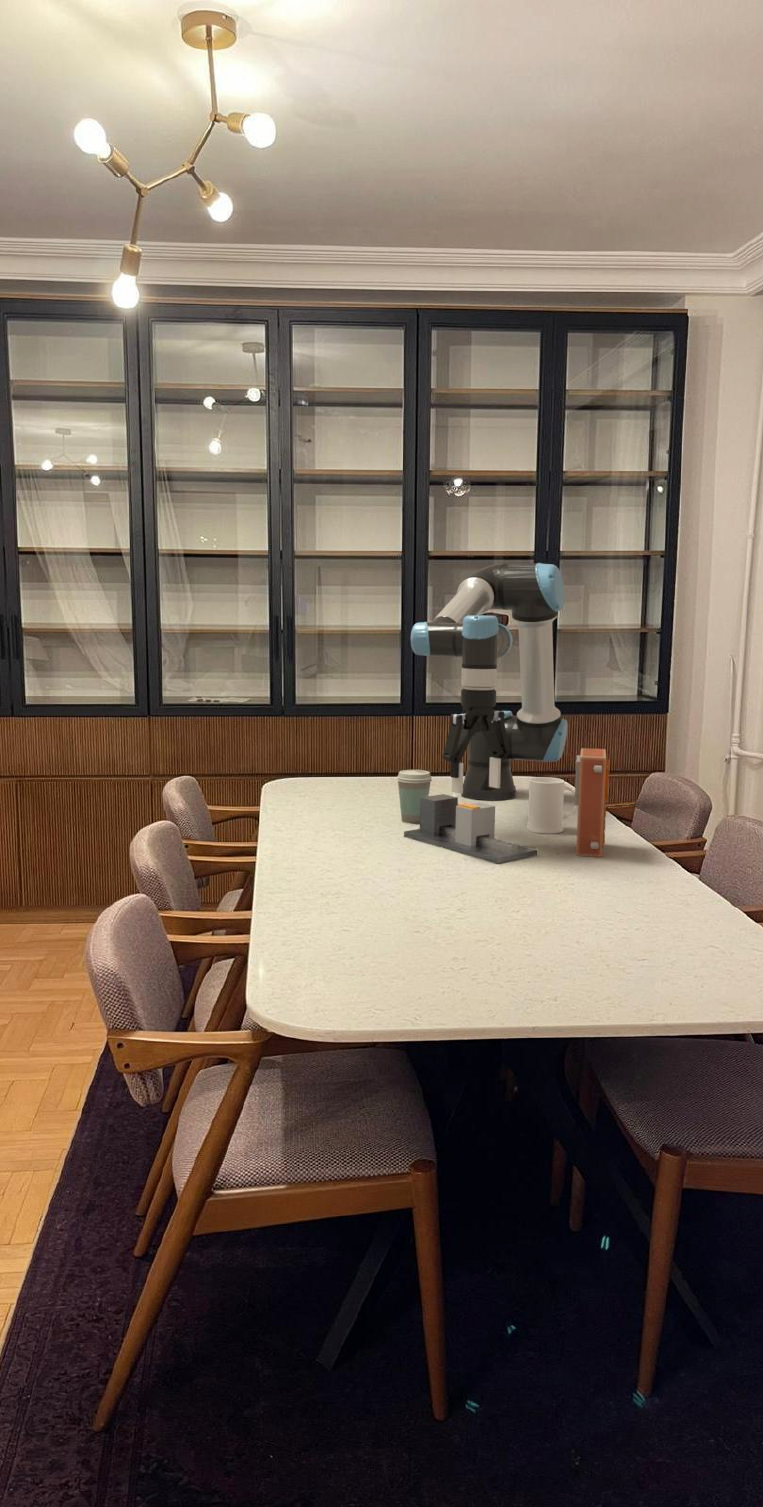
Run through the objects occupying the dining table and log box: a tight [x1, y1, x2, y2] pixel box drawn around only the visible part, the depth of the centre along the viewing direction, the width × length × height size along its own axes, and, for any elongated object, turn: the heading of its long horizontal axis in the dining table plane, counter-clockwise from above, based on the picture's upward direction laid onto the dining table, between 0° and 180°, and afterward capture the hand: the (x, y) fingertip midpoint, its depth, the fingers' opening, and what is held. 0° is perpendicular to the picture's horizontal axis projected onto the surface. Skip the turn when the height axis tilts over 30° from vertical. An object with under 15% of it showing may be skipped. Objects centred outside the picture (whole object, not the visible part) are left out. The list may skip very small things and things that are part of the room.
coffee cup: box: [396, 769, 433, 824], centre depth 253 cm, size 8×9×12 cm
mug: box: [526, 776, 578, 835], centre depth 245 cm, size 12×8×12 cm
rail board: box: [403, 793, 538, 865], centre depth 228 cm, size 30×12×9 cm, turn 38°
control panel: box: [573, 747, 610, 858], centre depth 225 cm, size 21×7×15 cm
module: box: [455, 802, 496, 846], centre depth 227 cm, size 5×7×8 cm
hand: (476, 789), depth 225 cm, fingers open, 10 cm apart
